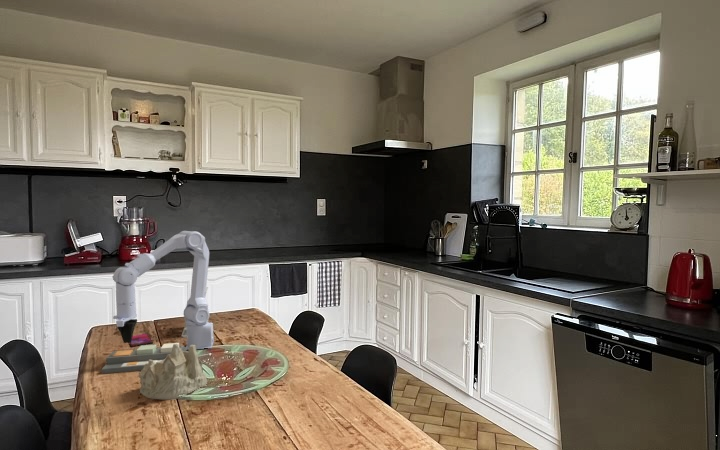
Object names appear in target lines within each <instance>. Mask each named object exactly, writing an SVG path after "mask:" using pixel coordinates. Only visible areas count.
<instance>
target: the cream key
mask: <svg viewBox="0 0 720 450" xmlns="http://www.w3.org/2000/svg"><path fill="white" fill-rule="evenodd" d="M173 344H178V347H179V346H180V342H172V343H171V342H170V343H169V342H168V343H163V345H162V346H160V347H161V353H167V352H172V347H173Z"/></svg>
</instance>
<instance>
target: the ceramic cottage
mask: <svg viewBox="0 0 720 450" xmlns="http://www.w3.org/2000/svg"><path fill="white" fill-rule="evenodd" d="M203 364H204V362H202V360H201V359H200V357H198V352H197V349H196V346H195V345H190V346H189V350H187V351H182V350H181V348H179V347H178V344H173V347H172V353H171V354H168V355H167V357H166V358H165V359H164V360H162V361H160V362H156V364H154V363H153V360H149V361H148V363H147V364H145V366H144V368H143V369H142V370H140V372H139V373H138V379H139V380H140V387H139V388H140V389H139V394H141V395H143V396H144V397H146V398H148V399H152V400H176V399H179V398H178V397H177V396H179V395H183V394H187V393H190V392H192V391H194V390H196V389H198V388H200V387H202V388H204V387H205V386H206V384H208V383H207V382H208V378H207V377H206V376H207V375H206V374H204V373H203V371H204V368H203ZM200 389H201V388H200ZM198 390H199V389H198ZM196 391H197V390H196ZM194 392H195V391H194Z"/></svg>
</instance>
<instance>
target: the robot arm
mask: <svg viewBox="0 0 720 450" xmlns="http://www.w3.org/2000/svg"><path fill="white" fill-rule="evenodd" d="M177 249H185V250H186V251H189V253H190V254H192V256H193V268H192V274H191V275H192V276H191V285H190V294H189V295H190V297H189V298H188V299H187V301H186V306H185V307H184V309H183V313H182V314H183V316H184V317H183V318H184V319H185V318H186V319H187V337H186V346H184V348H187V351H189V346H190V345H195V346H196V350H205V349H204V348H208V349H212V348H213V345H214V341H215V339H214V323H213V322H209V320H210V311H209V303H208V301H207V299H206V296H205V294H206V295H207V293H206V287H207V281H208V272H209V270H208V269H209V264H210V262H209V261H210V250H209V247H208V245H207V243H206V237H205V236H204V235H203V234H202V233H200V232H199V231H196V230H195V231H188V230H182V231H180V232H179V233H177V234H175V235H173V236H172V237H170V238H169V239H167V240H166V241H165V242H163V243H162V244H161V245H160V246H158V247H157V248H156V249H154V250H152V251H151V252H150V253H146V252H143V253H139V254H137V257H135V259H132V260H131V261H130V262H125V264H124V266H122V267H121V266H120V267H118V268H117V269H115V271H114V273H113V275H112V279H113V282H114V283H115V299H116V301H115V302H116V304H115V305H116V314H115V315H114V316H112V319H113V320H116V323H115V327H116V328H117V329H118V330H119V333H120V334H121V339H122V342H123V343H124V344H129V343H130V342H131V341H132V337H133V336H134V331H135V327H136V325H137V322H138V319H137V316H138V314H137V308H136V303H137V302H136V288H135V286H136V285H135V283H136V282H137V280H138V278H140V277H141V276H143V275H144V274H145V273H146V272H148V271H149V270H151V269H152V268H154V267H155V266H156V262H157V261H158V260H160V259H161V258H163V257H164V256H166V255H169V253H172V252H173V251H174V250H177ZM207 321H208V322H207Z"/></svg>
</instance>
